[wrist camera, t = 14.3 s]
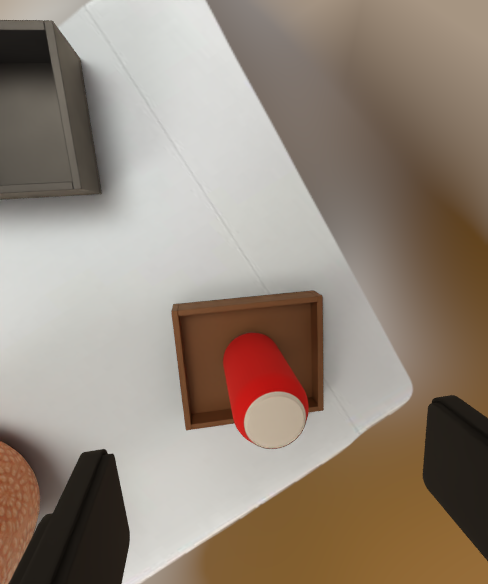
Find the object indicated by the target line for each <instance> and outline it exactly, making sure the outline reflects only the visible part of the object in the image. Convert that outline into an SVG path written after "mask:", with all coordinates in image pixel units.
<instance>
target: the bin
mask: <svg viewBox="0 0 488 584" xmlns="http://www.w3.org/2000/svg"><path fill="white" fill-rule="evenodd" d="M92 194H102V192H101V186H100V180H99V174H98V167H97V161H96V155H95V149H94V142H93V136H92V130H91V124H90V117H89V111H88V105H87V98H86V92H85V86H84V80H83V73H82V67H81V61H80V58H79V56H78V55H77V53H76V52H75V51H74V49H73V48H72V47H71V45H70V44H69V43H68V41H67V40H66V38H65V37H64V36H63V34H62V33H61V32H60V30H59V29H58V28H57V26H56V25H55V23H54V22H53V21H40V20H38V21H37V20H0V200H3V199H21V198H39V197H56V196H74V195H92Z"/></svg>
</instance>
